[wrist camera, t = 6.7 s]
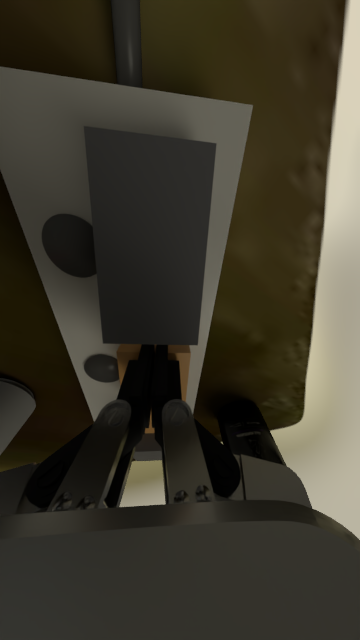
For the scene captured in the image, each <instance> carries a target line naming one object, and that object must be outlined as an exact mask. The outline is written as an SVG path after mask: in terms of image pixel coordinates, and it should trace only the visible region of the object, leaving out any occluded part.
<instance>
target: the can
mask: <svg viewBox="0 0 360 640" xmlns="http://www.w3.org/2000/svg"><path fill="white" fill-rule="evenodd" d="M35 407H36V405H35V400H34V396H33V394H32V392H31V391H30V390H29V389H28V388H27V387H25V386H24V385H22V384H20V383H18V382H15V381H12V380H9V379H3V378H0V455H1V453H2V452H3V451H4V449H5V448H6V447H7V445H8V444H9V443H10V441H11V440H12V439H13V437H14V436H15V435H16V433H17V432H18V431H19V429H20V428H21V427H22V425H23V424H24V423H25V421H26V420H27V419H28V418H29V416H30V415H31V414H32V412H33V411H34V409H35Z"/></svg>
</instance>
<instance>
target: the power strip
mask: <svg viewBox="0 0 360 640" xmlns="http://www.w3.org/2000/svg"><path fill="white" fill-rule="evenodd" d="M111 9H112V21H113V34H114V46H115V59H116V71H117V84H118V85H117V84H111V83H104V82H98V81H91V80H85V79H78V78H72V77H65V76H59V75H52V74H46V73H39V72H33V71H26V70H20V69H13V68H6V67H0V170H1V173H2V176H3V178H4V181H5V184H6V186H7V189H8V192H9V194H10V197H11V200H12V202H13V205H14V208H15V210H16V213H17V216H18V218H19V221H20V224H21V226H22V229H23V232H24V234H25V237H26V240H27V243H28V245H29V248H30V251H31V253H32V256H33V259H34V261H35V264H36V267H37V269H38V272H39V275H40V277H41V280H42V283H43V285H44V288H45V291H46V293H47V296H48V299H49V301H50V304H51V307H52V309H53V312H54V315H55V317H56V320H57V323H58V325H59V328H60V331H61V334H62V336H63V339H64V342H65V344H66V347H67V350H68V352H69V355H70V358H71V360H72V363H73V366H74V368H75V371H76V374H77V376H78V379H79V382H80V384H81V387H82V390H83V392H84V395H85V398H86V400H87V403H88V406H89V408H90V411H91V414H92V416H93V419H94V422H95V420H96V418H97V416H98V415H99V413H100V411H101V410H102V408H103V407H104V406H105V405H106V404H108V403H110V402H111V401H114V400H116V399H117V396H118V393H119V390H120V378H119V370H118V361H117V353H116V352H117V350H118V348H119V346H120V344H103V340H102V329H101V317H100V306H99V294H98V283H97V271H96V260H95V249H94V237H93V226H92V214H91V203H90V191H89V180H88V169H87V157H86V146H85V134H84V126H88V127H95V128H103V129H111V130H118V131H126V132H134V133H142V134H149V135H157V136H165V137H172V138H180V139H188V140H195V141H203V142H211V143H217V144H216V155H215V165H214V176H213V187H212V198H211V208H210V219H209V230H208V241H207V251H206V262H205V273H204V284H203V295H202V305H201V316H200V327H199V338H198V345H189V347H190V351H191V357H190V366H189V375H188V384H187V393H186V403H187V404H188V405H189V406H190V408H191V411H192V414H193V411H194V405H195V400H196V395H197V390H198V385H199V380H200V375H201V370H202V364H203V359H204V354H205V349H206V344H207V339H208V334H209V329H210V323H211V318H212V313H213V308H214V303H215V298H216V293H217V288H218V282H219V277H220V272H221V267H222V262H223V257H224V252H225V246H226V241H227V236H228V231H229V226H230V221H231V216H232V211H233V205H234V200H235V195H236V190H237V185H238V180H239V175H240V170H241V164H242V159H243V154H244V149H245V144H246V139H247V134H248V128H249V123H250V118H251V113H252V108H253V105H248V104H241V103H235V102H228V101H221V100H215V99H208V98H202V97H195V96H189V95H182V94H176V93H169V92H163V91H156V90H150V89H143V88H142V58H141V26H140V0H111Z"/></svg>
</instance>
